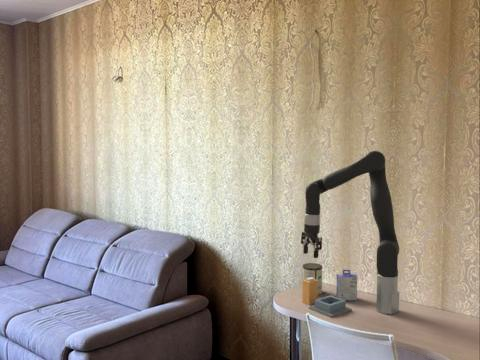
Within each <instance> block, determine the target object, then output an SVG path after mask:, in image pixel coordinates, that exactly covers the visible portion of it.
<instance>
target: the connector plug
mask: <svg viewBox="0 0 480 360" xmlns="http://www.w3.org/2000/svg"><path fill="white" fill-rule="evenodd" d="M301 297H302V303H303V304H306V305H314V304H315V300H317V299H319V294H318V280H316V279H315V278H313V277H309V278H306V280H303V279H302V296H301Z"/></svg>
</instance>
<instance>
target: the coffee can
mask: <svg viewBox="0 0 480 360" xmlns="http://www.w3.org/2000/svg"><path fill="white" fill-rule="evenodd" d="M309 277H313V278H315V279H316V280H318V295H320V294H322V293H323V265H322V264H320V263H314V262H309V263H304V264H302V281H303V280H306V278H309Z"/></svg>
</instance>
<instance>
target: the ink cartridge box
mask: <svg viewBox="0 0 480 360" xmlns="http://www.w3.org/2000/svg"><path fill="white" fill-rule="evenodd" d="M335 297H337V298H340V299H343V300H345V301H357V300H358V276H357V274H356V273H351V270H350V269H342V273H336V296H335Z"/></svg>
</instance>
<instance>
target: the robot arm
mask: <svg viewBox="0 0 480 360" xmlns="http://www.w3.org/2000/svg"><path fill="white" fill-rule="evenodd" d="M366 174H368V177H369V182H370V190H369V191H370V193H369V194H370V204H371V210H372V211H371V212H372V215H373V219H374V221H375V223H376V226H377V229H378V234H379V245H378V246H377V248H376V271H377V272H376V305H375V307H376V308H375V309H376V311H377V312H378V313H381V314H386V315H394V314H397V313H399V312H400V292H399V291H398V289H399V288H398V285H399V283H398V281H399V269H398V261H399V259H398V256H399V253H400V246H399V240H398V237H397V235H396V234H397V233H396V230H395V219H394V217H395V216H394V207H393V202H392V196H391V192H390V187H389V184H388V181H387V176H386V175H387V173H386V157H385V155H384V154H383V153H382V152H381V151H378V150H372V151H370V152H368V153H367V154H366V155H365V156H363V157H362V158H361V159H359V160H357V161H356V162H354V163H352V164H350V165H348V166H344V167H343V168H339V169H337V170H335V171H334V172H331V173H329V174H328V175H326V176H324V177H322V178H319V179H316V180H315V181H312V182H310V183H308V184H307V185H306V186H305V193H304V194H305V214H304V223H303V224H304V226H303V231H302V232H301V236H300V238H301V239H300V244H301V245H302V246H303V251H302V252H303V254H308V253H309V244H310V245H311V247H312V248H313V259H318V258H319V253H320V251H322V250H323V237H319V236H318V235H319V233H320V232H321V231H320V228H321V204H320V197H321V195H322V194H323V193H326V192H328V191H330V190H334V189H335V188H338V187H340V186H342V185H344V184H346V183H348V182H350V181H352V180H353V179H355V178H357V177H359V176H362V175H366Z"/></svg>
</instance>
